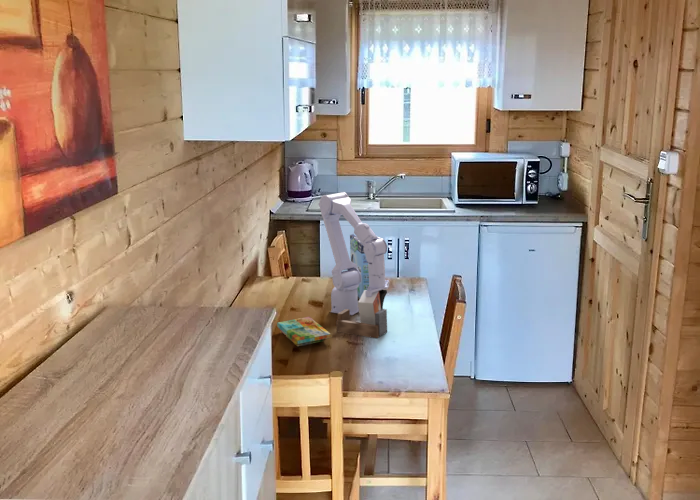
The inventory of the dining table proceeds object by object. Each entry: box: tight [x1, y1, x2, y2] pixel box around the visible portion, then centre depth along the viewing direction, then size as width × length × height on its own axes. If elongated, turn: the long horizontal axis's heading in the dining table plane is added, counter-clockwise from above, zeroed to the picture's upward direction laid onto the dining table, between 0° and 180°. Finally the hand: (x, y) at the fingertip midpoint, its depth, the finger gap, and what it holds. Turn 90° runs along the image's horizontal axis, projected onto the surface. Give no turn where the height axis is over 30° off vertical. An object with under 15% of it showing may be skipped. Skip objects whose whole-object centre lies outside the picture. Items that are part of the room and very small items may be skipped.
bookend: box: [375, 308, 388, 338], centre depth 236 cm, size 2×6×8 cm, turn 150°
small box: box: [358, 290, 381, 325], centre depth 244 cm, size 8×6×10 cm
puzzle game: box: [276, 316, 332, 347], centre depth 235 cm, size 12×5×20 cm
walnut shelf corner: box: [335, 309, 380, 339], centre depth 239 cm, size 16×7×6 cm, turn 60°
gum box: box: [349, 233, 369, 299], centre depth 278 cm, size 20×5×23 cm, turn 13°
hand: (378, 310), depth 248 cm, fingers closed, pressing on small box
